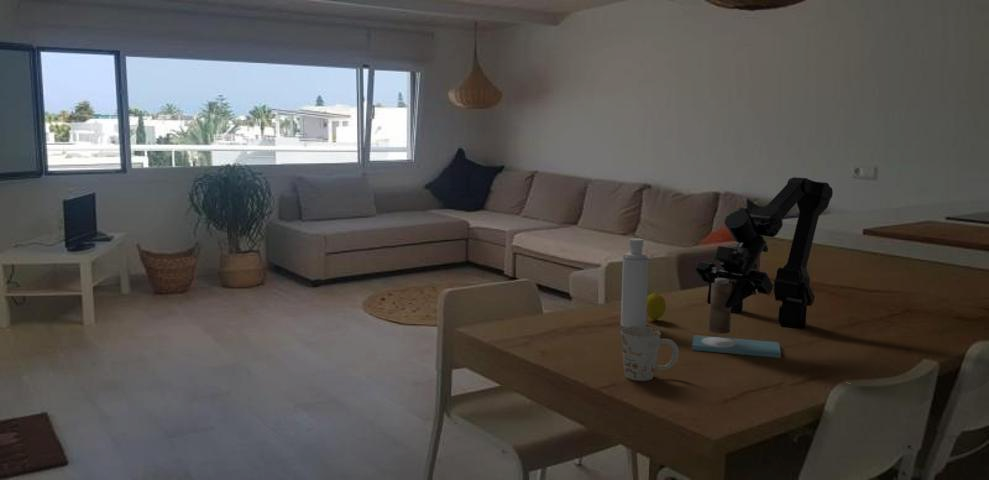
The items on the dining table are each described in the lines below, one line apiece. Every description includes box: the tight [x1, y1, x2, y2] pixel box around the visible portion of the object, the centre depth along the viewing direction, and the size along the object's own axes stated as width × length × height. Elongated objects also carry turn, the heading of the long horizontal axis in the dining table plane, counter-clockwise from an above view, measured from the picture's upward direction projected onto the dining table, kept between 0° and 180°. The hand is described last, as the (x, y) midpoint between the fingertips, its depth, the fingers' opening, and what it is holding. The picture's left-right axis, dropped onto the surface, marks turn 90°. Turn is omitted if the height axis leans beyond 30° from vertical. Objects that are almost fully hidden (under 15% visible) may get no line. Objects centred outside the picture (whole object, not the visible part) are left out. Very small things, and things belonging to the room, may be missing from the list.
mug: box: [620, 326, 680, 382], centre depth 161 cm, size 8×13×10 cm, turn 95°
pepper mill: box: [708, 278, 732, 335], centre depth 181 cm, size 5×5×13 cm
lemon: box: [646, 291, 666, 322], centre depth 206 cm, size 6×6×8 cm
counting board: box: [691, 334, 782, 359], centre depth 182 cm, size 20×9×1 cm, turn 73°
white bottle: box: [620, 237, 650, 328], centre depth 200 cm, size 7×7×25 cm
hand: (717, 305), depth 180 cm, fingers closed on pepper mill, 5 cm apart
